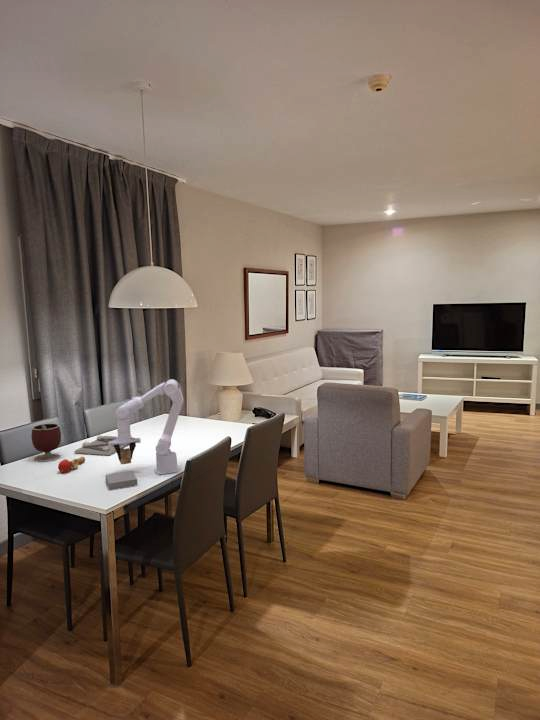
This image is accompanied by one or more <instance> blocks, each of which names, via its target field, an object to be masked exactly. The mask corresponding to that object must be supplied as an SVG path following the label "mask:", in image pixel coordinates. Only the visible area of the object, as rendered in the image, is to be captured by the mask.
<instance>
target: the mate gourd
mask: <svg viewBox="0 0 540 720" xmlns="http://www.w3.org/2000/svg"><path fill="white" fill-rule="evenodd" d="M61 431H62V430H61V426H60V424H58V423H51V422H50V423H42V424H41V423H40V424H37V425H34V426H32V428H31V435H30V436H31V443H32V446H33V448H35V450H36V451H37V452H42V453H44V454H42V455H38V456H37V457H35V458H34V461H35V462H36V461H37V463H50V461H51V462H55V461H58V460H60V459H61V458H60V457H62V456H61V455H60V454H59V453H51V452H52V451H54V450H57V449H58V448H59V446H60V445H61V441H62V432H61ZM59 458H60V459H59ZM57 459H58V460H57Z"/></svg>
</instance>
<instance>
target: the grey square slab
mask: <svg viewBox="0 0 540 720" xmlns="http://www.w3.org/2000/svg"><path fill="white" fill-rule="evenodd" d="M105 482H106V486H107V488H108V490H109V491H114V490H119V488H120V489H125V488H124V487H126V488H131V487H130V486H132V487H136V486H135V485H138V478H137V476H136V474H135V472H134V471H133V470H130V471H121V472H116V473H109V474H105Z"/></svg>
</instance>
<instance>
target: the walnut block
mask: <svg viewBox="0 0 540 720" xmlns="http://www.w3.org/2000/svg"><path fill="white" fill-rule="evenodd" d="M120 456H121V461H119V463H120V465H126V464H131V463H132V459H131V451H130V448H129V447H128V448H122V449H120Z"/></svg>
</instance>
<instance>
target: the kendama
mask: <svg viewBox="0 0 540 720" xmlns="http://www.w3.org/2000/svg"><path fill="white" fill-rule="evenodd" d="M85 461H86V458H85V457H84V456H80V457H79V458H78V457H77V458H74V459H72V460H68V459H67V458H66V459H63V460H61V461H59V463H58V465H57V466H58V470H59V472H60V473H63V474H66V473H68V472H70V471H71V470H72V468H73V469H77V468H78V467H79V464H83V463H85Z"/></svg>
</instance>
